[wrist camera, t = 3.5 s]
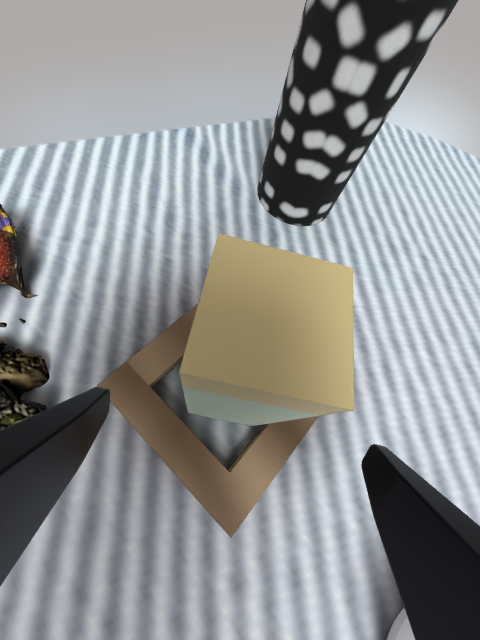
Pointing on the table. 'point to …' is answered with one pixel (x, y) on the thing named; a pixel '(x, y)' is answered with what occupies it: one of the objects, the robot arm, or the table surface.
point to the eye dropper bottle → (401, 628)
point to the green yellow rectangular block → (270, 337)
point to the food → (5, 361)
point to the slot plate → (184, 447)
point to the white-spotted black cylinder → (340, 96)
